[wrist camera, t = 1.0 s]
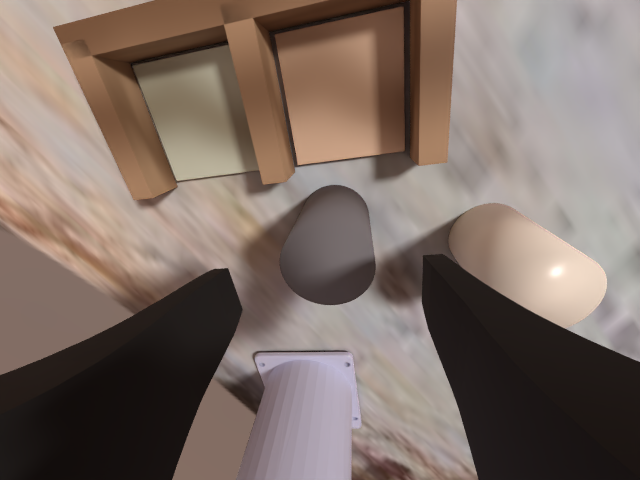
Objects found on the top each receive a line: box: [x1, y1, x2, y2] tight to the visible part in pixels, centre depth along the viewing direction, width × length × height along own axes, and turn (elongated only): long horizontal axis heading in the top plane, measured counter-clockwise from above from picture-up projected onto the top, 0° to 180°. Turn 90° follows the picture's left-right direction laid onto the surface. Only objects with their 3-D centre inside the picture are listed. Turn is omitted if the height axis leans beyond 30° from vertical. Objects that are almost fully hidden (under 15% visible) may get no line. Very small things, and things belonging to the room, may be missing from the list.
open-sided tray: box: [53, 0, 457, 200], centre depth 12 cm, size 8×16×2 cm, turn 98°
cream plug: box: [448, 203, 607, 328], centre depth 13 cm, size 4×4×6 cm
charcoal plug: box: [280, 185, 376, 305], centre depth 13 cm, size 4×4×6 cm
